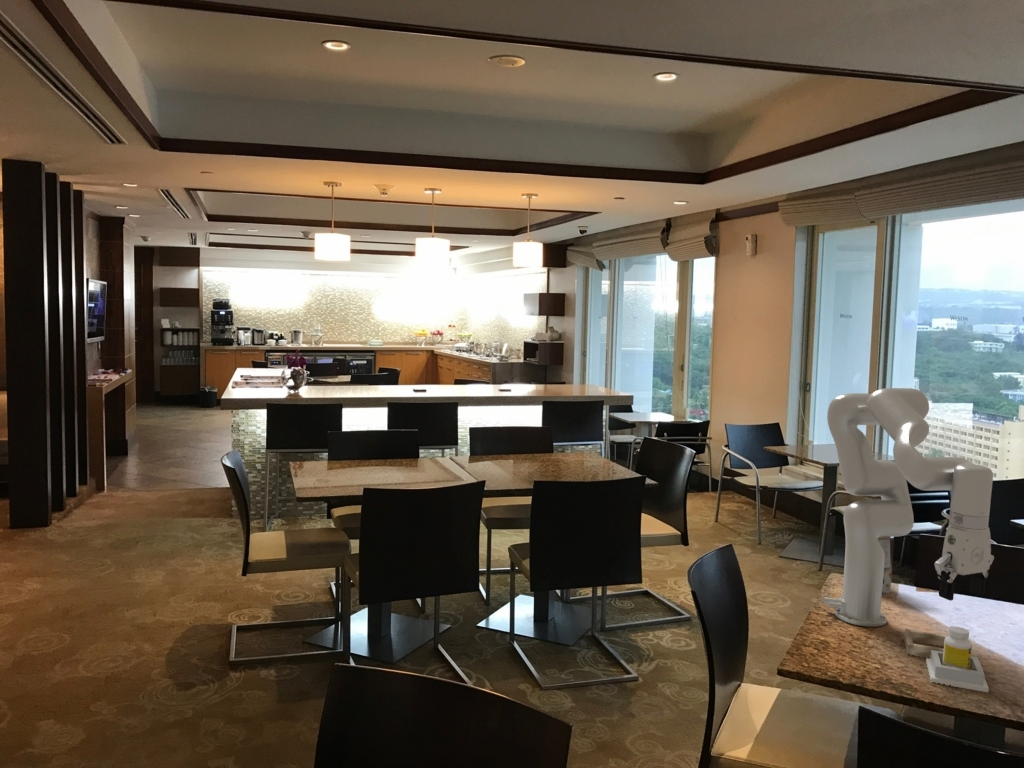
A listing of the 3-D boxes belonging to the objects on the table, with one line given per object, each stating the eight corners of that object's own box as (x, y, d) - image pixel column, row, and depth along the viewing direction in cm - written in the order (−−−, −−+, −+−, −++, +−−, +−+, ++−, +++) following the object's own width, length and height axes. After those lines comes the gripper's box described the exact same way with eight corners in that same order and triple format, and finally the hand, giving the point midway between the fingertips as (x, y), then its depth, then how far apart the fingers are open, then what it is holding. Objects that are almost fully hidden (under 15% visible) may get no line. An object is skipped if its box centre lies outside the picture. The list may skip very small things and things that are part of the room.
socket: (930, 682, 176) (932, 666, 176) (925, 662, 186) (927, 647, 186) (988, 692, 172) (989, 676, 172) (979, 671, 182) (981, 656, 182)
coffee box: (891, 593, 233) (895, 539, 231) (870, 593, 232) (874, 539, 231) (874, 582, 242) (878, 530, 240) (854, 582, 241) (858, 530, 240)
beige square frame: (907, 654, 190) (908, 644, 190) (904, 638, 200) (904, 628, 200) (956, 663, 187) (957, 652, 186) (951, 646, 196) (951, 636, 196)
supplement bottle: (971, 679, 176) (975, 636, 175) (944, 675, 178) (947, 632, 177) (966, 668, 181) (969, 627, 180) (939, 664, 183) (943, 623, 182)
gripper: (956, 528, 169) (948, 606, 171) (1011, 522, 176) (1003, 597, 178) (925, 519, 176) (918, 594, 178) (980, 513, 183) (973, 585, 185)
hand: (961, 595), depth 178 cm, fingers open, 9 cm apart
